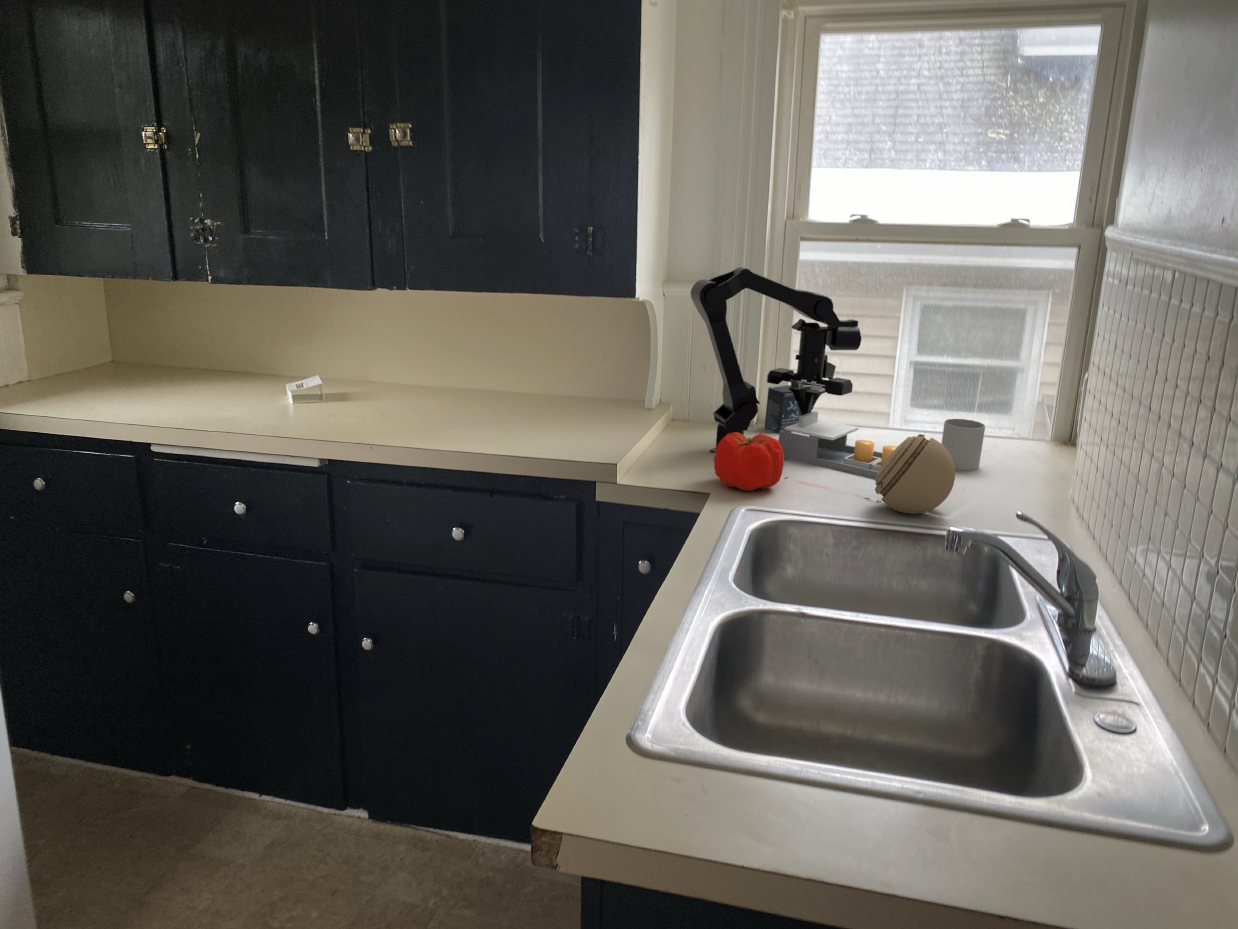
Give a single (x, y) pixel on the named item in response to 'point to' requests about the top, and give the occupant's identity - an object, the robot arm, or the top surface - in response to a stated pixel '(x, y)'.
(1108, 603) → the top surface
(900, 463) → the mechanical component
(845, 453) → the housing
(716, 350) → the robot arm
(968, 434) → the cup
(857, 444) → the orange rounded cylinder
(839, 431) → the lid
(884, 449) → the orange cylinder
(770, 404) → the box
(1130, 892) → the top surface
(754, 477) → the tomato
